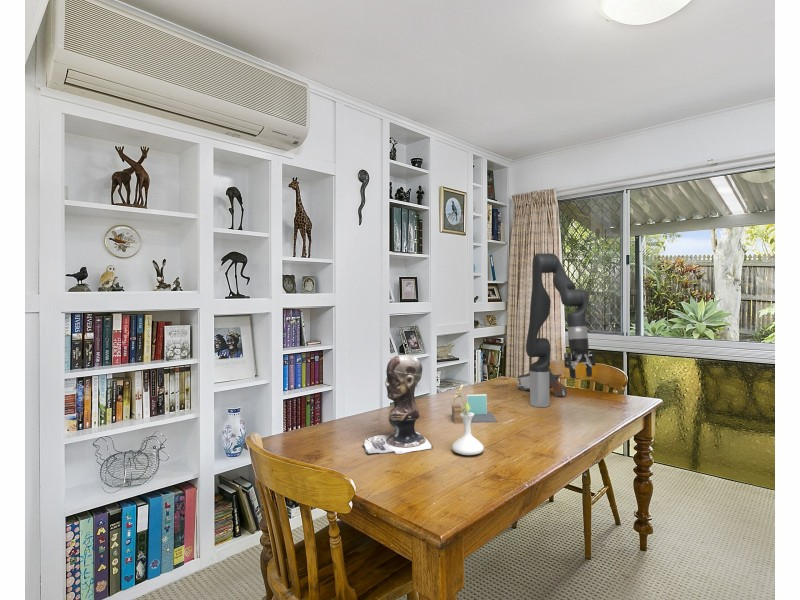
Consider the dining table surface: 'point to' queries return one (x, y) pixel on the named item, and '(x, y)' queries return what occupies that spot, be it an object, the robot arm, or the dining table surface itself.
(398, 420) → the head bust
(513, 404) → the dining table surface
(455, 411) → the brown rectangular block
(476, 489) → the dining table surface
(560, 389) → the gun
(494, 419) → the mat
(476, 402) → the tile
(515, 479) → the dining table surface
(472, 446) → the flower in vase
